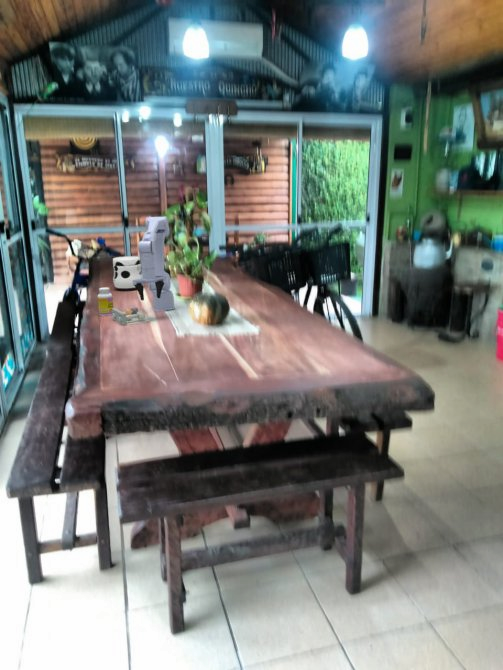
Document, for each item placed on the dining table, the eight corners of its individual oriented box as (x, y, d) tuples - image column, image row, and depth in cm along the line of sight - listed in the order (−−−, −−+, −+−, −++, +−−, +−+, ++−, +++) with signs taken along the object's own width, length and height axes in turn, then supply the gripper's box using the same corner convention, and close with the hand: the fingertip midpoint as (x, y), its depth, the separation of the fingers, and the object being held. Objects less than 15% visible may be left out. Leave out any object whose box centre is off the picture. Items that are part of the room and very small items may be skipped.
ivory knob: (142, 317, 233) (141, 310, 232) (145, 319, 230) (144, 311, 229) (118, 321, 228) (117, 313, 227) (121, 323, 225) (120, 315, 224)
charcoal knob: (136, 314, 239) (135, 307, 238) (138, 316, 236) (138, 308, 235) (112, 318, 234) (111, 310, 233) (115, 320, 231) (114, 312, 230)
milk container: (150, 287, 309) (147, 256, 304) (129, 292, 295) (126, 260, 290) (129, 284, 318) (126, 255, 313) (107, 290, 304) (104, 259, 299)
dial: (130, 319, 234) (129, 308, 232) (132, 320, 232) (131, 309, 230) (125, 320, 232) (124, 309, 231) (127, 321, 231) (126, 310, 229)
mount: (144, 315, 243) (143, 303, 241) (156, 321, 232) (155, 308, 231) (113, 320, 235) (111, 308, 234) (123, 326, 224) (122, 314, 223)
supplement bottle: (110, 317, 241) (107, 289, 238) (97, 316, 243) (93, 289, 239) (116, 313, 247) (113, 287, 244) (103, 313, 249) (100, 286, 245)
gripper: (135, 271, 221) (138, 302, 225) (167, 267, 229) (169, 298, 232) (129, 269, 227) (132, 300, 230) (160, 266, 234) (163, 295, 238)
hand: (150, 299), depth 232 cm, fingers open, 7 cm apart
